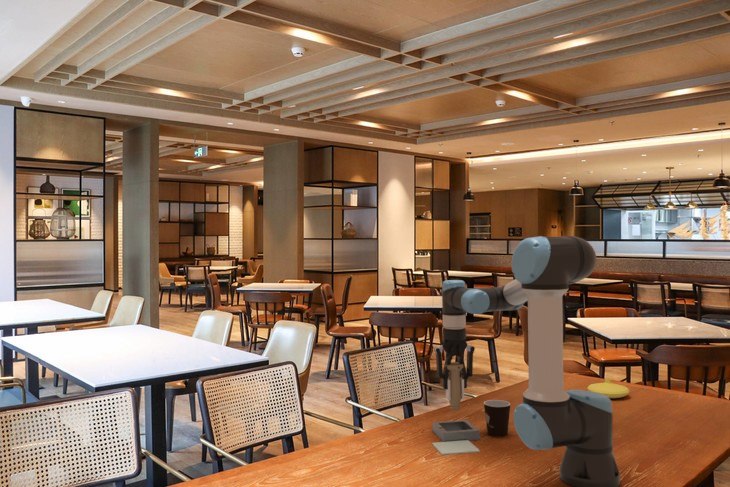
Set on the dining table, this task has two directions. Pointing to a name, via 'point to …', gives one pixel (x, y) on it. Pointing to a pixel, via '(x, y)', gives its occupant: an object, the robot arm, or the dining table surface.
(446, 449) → the mat
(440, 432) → the silver square frame
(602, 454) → the robot arm
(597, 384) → the yellow pattypan squash
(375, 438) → the dining table surface
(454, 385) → the handle
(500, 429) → the coffee mug
